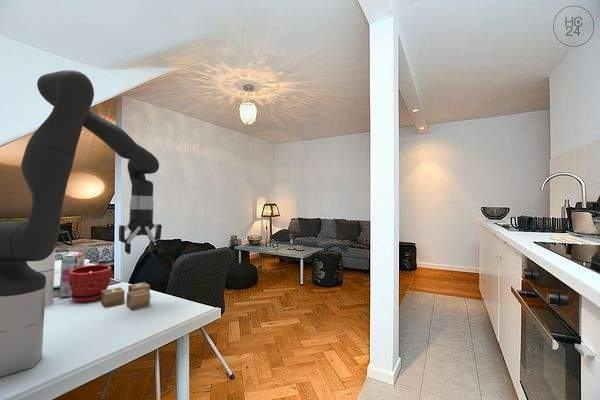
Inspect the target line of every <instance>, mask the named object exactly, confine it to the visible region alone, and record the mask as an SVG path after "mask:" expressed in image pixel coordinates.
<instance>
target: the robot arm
mask: <svg viewBox="0 0 600 400" xmlns="http://www.w3.org/2000/svg"><path fill="white" fill-rule="evenodd" d="M36 86H37V89H38V93H39V94H40V96H41V97H42V98H43V99H44V100H45V101H46V102H48V103H49V104H50V105H51V106H53V108H52V109H51V110H52V111H51V112H50V114H49V115H48V116H47V118H46V119H45V120H44V121H43V122H42V123H41V124H40V126H39V127H38V128H37V129H36V131H35V132H34V133H33V134H32V135H31V137H30V138H29V140H28V142H27V144H26V146H25V150H24V153H23V156H22V159H21V164H20V169H21V173H22V175H23V178H24V180H25V182H26V185H27V187H28V188H29V191H30V193H31V200H32V202H31V203H32V204H31V210H30V214H29V217H28V220H27V221H20V220H19V221H18V220H17V221H9V220H8V221H2V222H0V378H2V377H6V376H8V375H11V373H12V374H15V373H18V372H22V371H25V370H28V369H31V368H34V367H35V365H36V364H37V363H38V362H39V361H41V360H42V357H43V343H44V326H45V325H44V324H45V307H46V306H45V290H46V277H45V275H44V274H42V273H40V272H37V271H35V270H33V269H32V268H31V267H30V266H29V265H28V264H27V263H28V261H41V260H44V259H46V258H47V257H49V256H50V255H51V254H52V252H53V251H54V249H55V250H56V247H57V244H58V240H59V235H60V230H61V221H62V213H63V205H64V200H65V195H66V191H67V187H68V183H69V178H70V175H71V172H72V169H73V165H74V161H75V157H76V151H77V147H78V144H79V142H80V137H81V134H82V130H83V128H85V129H87V130H88V131H89V132H90V133H92V134H93V135H95V136H96V137H97V138H98V139H100V140H101V141H102V142H104V143H105V144H106V145H107V146H108V147H109V148H110V149H111V150H112V151H113V152H115V153H116V154H117V155H118V156H119V157H121V158H122V159H125V160H128V161H127V172H128V176H129V179H130V183H131V193H130V195H131V197H130V202H129V221H128V224H125V225H123V224H119V225H118V241H119V242H121V243H124V252H125V253H126V255H130V254H131V250H132V249H131V248H132V247H131V246H132V244H131V242H132V241H133V239H135V237H137V236H138V237H139V236H146V237H147V238H148V239H149V241H148V251H149V252H150V253H152V252H154V251H155V247H156V246H155V244H156V243H155V242H156V241H158V240H161V236H162V227H163V225H162V224H160V223H156V224H155V223H154V222H153V220H154V183H153V182H152V181H151V180H147V179H146V175H147V174H148V175H150V174H151V175H152V174H155V173H157V172H158V170H159V168H160V163H159V160H158V158H157V157H156V156H155V155H154V154H153V153H152V152H150V151H148V150H147V149H146V148H144V147H143V146H141V145H140V144H138V143H137V142H136V141H135V140H134V139H133V138H132V136H130V135H129V134H128V133H127V132H126V131H125V130H124V129H123V128H121V127H119V126H118V125H116V124H115V123H113V122H111V121H110V120H107V119H105V118H104V117H102V116H101V115H99V114H97V113H96V112H94V111H93V110H92V109H91V107H92V104H93V102H94V98H95V90H94V89H95V88H94V86H93V84H92V81H91V80H90V78H89V77H88V76H87V75H86V74H85V73H83V72H82V71H79V70H73V69H65V70H63V69H62V70H59V71H55V72H49V73H45V74H42V75H41V76H40V77H39V78H38V79H37V83H36ZM127 229H128V230H129V231H130V232H129V233H128V235H127V237H126V236H125V235H126V234H125V232H126V231H127ZM153 229H154V230H155V233H154V234H155V235H154V234H153V232H152V230H153ZM125 237H126V238H125Z"/></svg>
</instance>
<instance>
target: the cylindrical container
mask: <svg viewBox="0 0 600 400" xmlns="http://www.w3.org/2000/svg"><path fill="white" fill-rule="evenodd" d="M55 261H56V248H55V249H54V251H53V252H52V254H51V255H50V256H49V257H47V258H46V259H44V260H41V261H27V264H28V265H29V266H30V267H31V268H32V269H33V270H35V271H37V272H40V273H42V274H44V275H45V277H46V290H45V307H48V306H50V305H53V301H54V300H53V299H54V284H55V283H54V282H55V266H56V265H55V264H56V263H55Z"/></svg>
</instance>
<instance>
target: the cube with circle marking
mask: <svg viewBox="0 0 600 400" xmlns="http://www.w3.org/2000/svg"><path fill="white" fill-rule="evenodd" d="M127 286H128V287H127V289H128V290H127V291H128V292H133V291H139V290H144V289H145V290H147V291H148V292H149V293H150V294H151V291H150V288H151V285H150V284H148V283H146V282H145V281H143V282H139V283H134V284H133V283H132V284H128V285H127ZM128 292H127V293H128Z"/></svg>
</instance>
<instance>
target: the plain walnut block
mask: <svg viewBox="0 0 600 400" xmlns="http://www.w3.org/2000/svg"><path fill="white" fill-rule="evenodd" d="M125 305H126V307H127V309H129V310H130V311H131V310H132V311H135V309H136V310H140V309H139V308H141V309H144V307H145V308H148V307H147V306H149V307H150V305H151V292H150V293H149V292H148V291H147V290H145V289H144V290H139V291H133V292H126V304H125Z"/></svg>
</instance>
